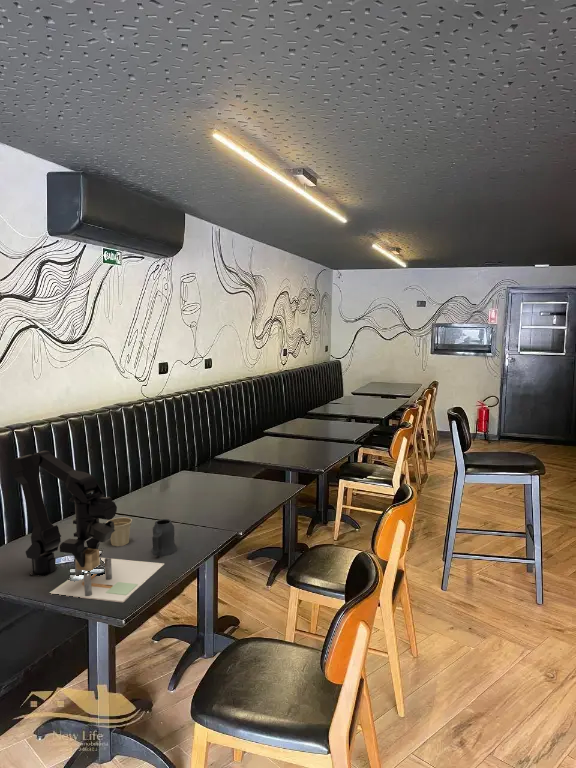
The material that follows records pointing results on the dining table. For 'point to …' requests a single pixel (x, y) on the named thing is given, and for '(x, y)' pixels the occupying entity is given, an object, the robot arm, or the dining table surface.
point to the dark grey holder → (163, 538)
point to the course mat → (113, 581)
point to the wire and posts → (88, 576)
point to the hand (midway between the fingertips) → (88, 563)
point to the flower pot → (120, 531)
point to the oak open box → (90, 560)
